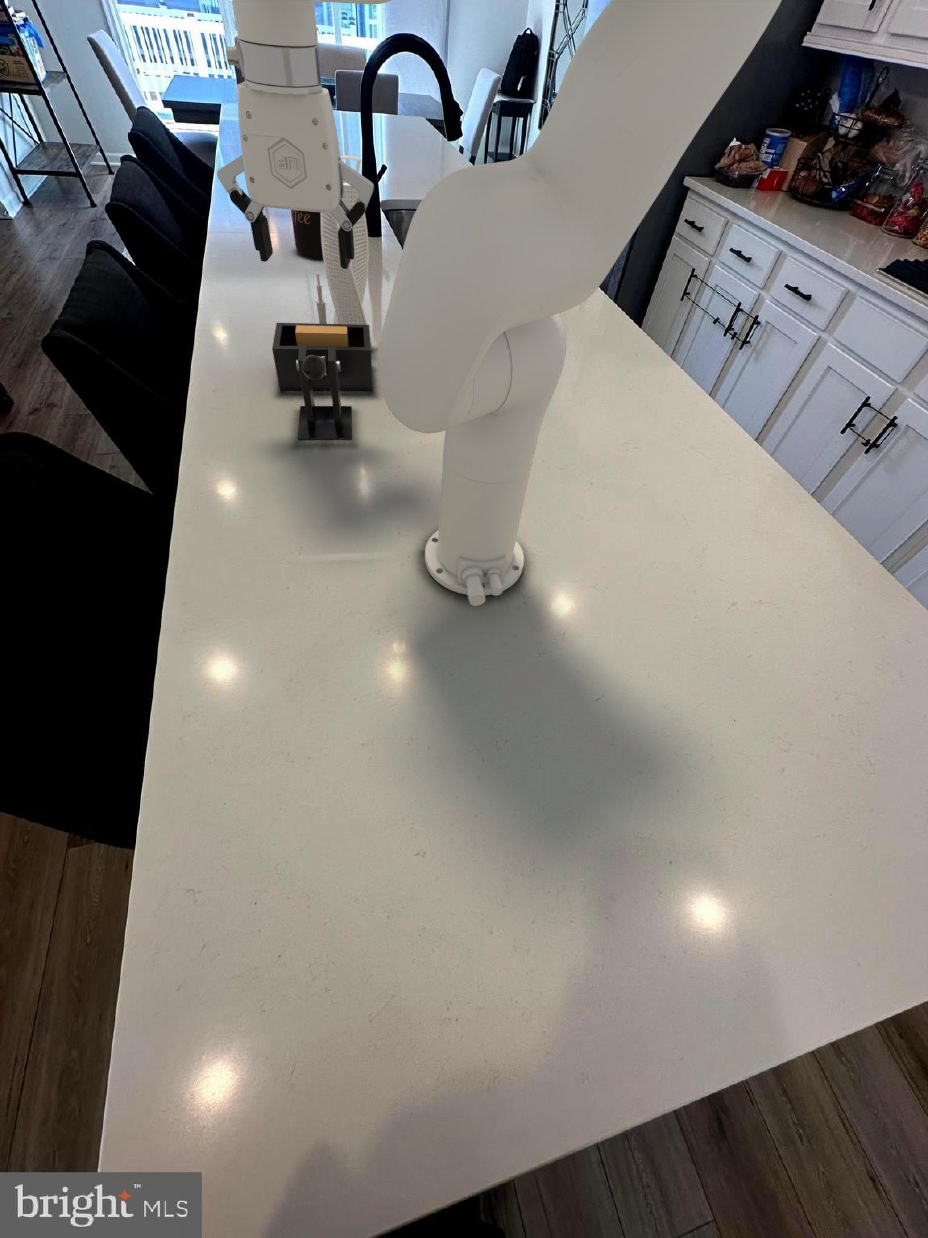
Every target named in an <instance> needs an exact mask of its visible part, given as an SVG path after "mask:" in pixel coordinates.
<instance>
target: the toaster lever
mask: <svg viewBox="0 0 928 1238" xmlns="http://www.w3.org/2000/svg"><path fill="white" fill-rule="evenodd" d="M302 370H303V373H304V374H305V376H306V377H307V378H309V379H311V380H320V379H321V378H322V377H323V376H324V375H328V370H327V357H326V356H316V355H309V356H307V357H306V358H305V359H304V360H303V363H302Z"/></svg>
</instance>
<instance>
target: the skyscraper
mask: <svg viewBox="0 0 928 1238" xmlns="http://www.w3.org/2000/svg"><path fill="white" fill-rule="evenodd" d="M340 157H341V161H344V160H351V161H352V160H353V161H356V166H355V169H354V170H355V171H357V172H358V173H359V171H360V167H361V162H362V160H361V158H360V157H358V156H356V155H349V154H346V155H345V154H344V155H340ZM343 186H344V193H343V197H342V199H343V200H344V202H345V203H346V204H347V206H348V207H349V209H351V208H352V207H353V206H354V204H355V203H356V202H357V199H358V196H359V193H358V191H357V190H356V189H355V188H354V187H352V186H351V185H349V184H348V183H346V182H345V181H344V180H343ZM365 212H366V211H365ZM365 212H364V214H363V215H362V217H361V218H360V219H359V220H358V221H357V222H356V224H355V225H354V226H353V239H354V259H350V263H349V265H348V268H347V269H342V267H341V265H340V254H339V242H338V230H339V229H340V224H339V223H338V222H337V220H336V219H335V218H334V216H333V215H332V214H331V212H321V242H322V252H323V260H322V261H323V266H324V271H325V277H326V280H327V281H326V282H327V286H328V289H329V293H330V297H331V301H332V304H333V308H334V317H333V324H355V325H368V322H367V319H366V315H365V311H364V307H363V303H364V298H365V293H366V288H367V280H368V275H369V261H370V260H369V258H370V255H369V254H370V253H369V251H370V249H369V247H370V246H369V231H368V225H367V217H366V213H365ZM316 279H317V284H316V291H317V298H318V299H317V300H316V301H315V303H316V309H317V315H318V324H328V322H327V308H326V307H327V306H326V302H325V300H323V288H322V287H323V286H322V284H321V283H320V274H319V273H316ZM370 346H371V351H374V345H373V341H372V338H371V337H370Z"/></svg>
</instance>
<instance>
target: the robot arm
mask: <svg viewBox="0 0 928 1238" xmlns="http://www.w3.org/2000/svg"><path fill="white" fill-rule="evenodd" d="M391 1H392V0H231V4H232V9H233V16H234V22H235V29H236V34H237V39H236V44H234V45H233V46H228V45H227V46H226V47H225V56H226V60H227V63H228V65H229V66H235V67H236V68H237V69H239V70H240V72H241V76H242V78H244V81H242V82H240V83H237V91H236V92H237V95H236V97H237V116H238V117H237V118H238V127H239V138H240V146H241V147H240V148H241V149H240V150H241V155H239V156H238V157H236V158H234V159H233V160H231V161H230V162H228V163H226V164H224V165H223V166H221V168H219V169H218V170H217V172H216V176H217V179H218V180H219V182H220V184H221V185H222V186H223V188H224V190H225V191H226V193H227V194H228V195H229V199H230V201H231V203H232V204H234V206H235V207H236V208H237V209H238V210H239V211H240V212H241V213H242V214H243V215H244V218H245V220H246V221H247V222H249V223H250V224H249V225H250V229H251V234H252V235H251V236H252V239H253V245H254V249H255V251H258V252H259V253H258V254H259V257H260V261H261V262H267V261H269V259H270V258H271V257H272V255H273V254H274V250H273V244H272V237H271V232H270V225H269V219H268V217H267V215H264V209H265V208H271V209H280V210H290V211H291V210H299V211H310V212H331V214H332V215H333V216H334V218H335V219H336V220H337V222H338V223H339V224H340V229H339V230H338V242H339V254H340V265H341V267H342V269H347V268H348V265H349V263H350V259H354V239H353V226H354V225H355V224H356V222H357V221H358V220H359V219H360V218H361V217H362V215H363V214H364V212H366V210H367V208H368V206H369V203H370V200H371V197H372V195H373V193H374V191H375V185H374V183H373V182H372V181H371V180H369V179H368V178H366V177H365V176H363V175H362V174H361V173H359V172H357V171H355V170H356V169H354V168H353V167H351V166H350V165H348V164H347V163H345V162H344V160H341V157H340V156H341V150H340V143H339V138H338V131H337V126H336V125H337V124H336V119H335V114H334V109H333V105H332V101H331V96H330V92H329V90H328V88H325V87H323V85H322V73H321V62H320V51H319V41H318V40H319V39H318V38H319V37H318V27H317V18H316V6H315V3H337V4H339V3H340V4H354V5H355V4H357V5H370V6H371V5H372V6H373V5H381V4H385V3H389V2H391ZM781 2H782V0H609V2H608V3H607V5H606V6H605V7H604V8H603V9H602V11H601V12H600V14H599V15H598V16H597V18H596V19H595V21H594V22H593V23H592V25H591V26H590V28H589V29H588V30H587V33H585V35H584V36H583V38H582V40H581V42H580V43H579V45H578V47H577V49H576V51H575V52H574V54H573V56H572V58H571V60H570V62H569V63H568V66H567V68H566V70H565V72H564V74H563V77H562V79H561V83H560V85H559V87H558V91H557V94H556V96H555V98H554V101H553V103H552V106H551V108H550V110H549V113H548V115H547V116H546V119H545V121H544V124H543V125H542V128H541V130H540V131H539V133H538V135H537V137H536V139H535V140H534V141H533V143H532V144H531V146H530V147H529V148H528V150H526V151H525V152H524V153H522V154H520V155H519V156H517V157H516V158H514V159H512V160H511V159H510V160H504V161H498V162H490V163H482V164H476V165H471V166H466V167H463V168H460V169H457V170H454V171H452V172H451V173H448V174H446V175H445V176H444V177H442V178H441V179H440V180H438V181H437V182H436V183H434V185H432V187H431V188H430V189H429V190H428V191H427V193H425V195H424V197H423V198H422V199H421V201H420V203H419V204H418V206H417V208H416V210H415V211H414V213H413V216H412V219H411V221H410V223H409V227H408V230H407V234H406V236H405V240H404V242H403V247H402V252H401V255H400V260H399V263H398V267H397V272H396V275H395V277H394V278H395V279H394V283H393V287H392V290H391V294H390V297H389V302H388V306H387V310H386V314H385V317H384V322H383V326H382V330H381V334H380V340H379V346H378V348H379V349H378V356H377V368H378V369H377V370H378V380H379V385H380V390H381V393H382V396H383V398H384V402H385V404H386V406H387V407H388V409H389V411H390V412H391V414H392V415H393V417H394V418H395V419H396V420H397V421H398V422H399V423H400V424H402V426H405V427H406V428H408V429H409V430H412V431H415V432H418V433H422V434H436V433H442V432H445V433H444V442H443V451H442V452H443V453H442V468H441V471H442V472H441V483H440V501H439V502H440V503H439V518H438V529H437V530H436V531H435V532H433V534H431V536H430V537H429V538H428V540H427V542H426V544H425V549H424V563H425V566H426V570H427V571H428V573H429V575H430V576H431V577H432V578H433V579H434V580H435V581H436V582H437V583H439V584H440V585H441V586H443V587H444V588H446V589H448V590H449V591H451V592H452V591H453V592H455V593H458V594H461V595H466V596H467V599H468V603H469V604H470V605H471V606H473V607H479V606H481V605H483V604H485V602H486V596H490V595H492V596H495V597H496V596H500V595H502V594H503V592H504V591H506V590H507V589H509V588H511V587H512V586H513V585H514V584H515V583H516V582H517V581H518V580H519V578H520V577H521V575H522V572H523V570H524V569H523V568H524V565H525V555H524V550H523V549H522V546H521V544H520V543H519V541H518V540H517V537H518V532H519V528H520V522H521V517H522V513H523V507H524V504H525V498H526V495H527V494H526V493H527V489H528V483H529V479H530V474H531V470H532V467H533V462H534V458H535V452H536V448H537V444H538V439H539V435H540V432H541V428H542V424H543V422H544V418H545V416H546V413H547V410H548V408H549V406H550V403H551V401H552V398H553V396H554V394H555V391H556V389H557V386H558V384H559V381H560V378H561V376H562V372H563V368H564V365H565V361H566V355H567V332H566V331H567V330H566V325H565V322H564V320H563V316H562V314H561V313H565V312H566V311H570V310H572V309H574V308H576V307H577V306H580V305H582V304H583V303H584V302H586V301H587V300H588V299H589V298H590V297H592V295H593V294H595V292H597V290H598V289H599V287H600V286H601V285H602V283H603V282H604V280H605V279H606V278H607V276H608V275H609V273H610V272H611V270H612V268H613V267H614V265H615V263H616V262H617V260H618V259H619V257H620V255H621V254H622V252H623V251H624V249H625V247H626V246H627V244H628V243H629V241H630V240H631V238H632V237H633V235H634V234H635V232H636V231H637V228H638V227H639V226H640V224H641V223H642V221H643V220H644V218H645V216H646V215H647V213H648V212H649V210H650V208H651V207H652V205H653V204H654V202H655V201H656V199H657V198H658V196H659V195H660V194H661V192H662V190H663V189H664V187H665V185H666V184H667V182H668V180H669V178H670V177H671V176H672V174H673V172H674V170H675V168H676V167H677V165H678V163H679V161H681V158H682V157H683V155H684V154H685V152H686V151H687V149H688V147H689V146H690V145H691V142H692V141H693V139H694V138H695V136H696V135H697V133H698V132H699V130H700V128H701V127H702V126H703V124H704V123H705V121H706V120H707V118H708V117H709V115H710V114H711V112H713V109H714V108H715V106H716V105H717V104H718V102H719V101H720V99H721V98H722V96H723V95H724V93H725V92H726V90H727V89H728V88H729V86H730V84H731V83H732V81H733V80H734V78H735V77H736V76H737V74H738V73H739V71H740V70H741V68H742V67H743V65H744V63H745V62H746V60H747V59H748V58H749V56H750V55H751V53H752V52H753V50H754V48H755V46H756V44H757V43H758V42H759V40H760V39H761V37H762V35H763V34H764V33H765V32H766V29H767V27H768V25H769V24H770V22H771V20H772V18H773V17H774V15H775V13H776V12H777V10H778V8H779V7H780V4H781ZM242 173H243V174H244V179H245V185H246V189H247V193H248V195H247V193H246V192H245V191H244V190H243V189H242V188H241V187H240V186H239V183H238V181H237V177H238V176H239V175H241V174H242ZM343 180H344V181H345V182H346V183H348V184H349V185H351V186H352V187H354V188H355V189H356V190H357V191H358V193H359V196H358V199H357V202H356V203H355V204H354V206H353V207H352V208H351V209H349V207H348V206H347V204H346V203H345V202H344V200H343V199H342V197H343V193H344V186H343ZM433 540H434V541H433ZM435 540H436V541H435Z"/></svg>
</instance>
